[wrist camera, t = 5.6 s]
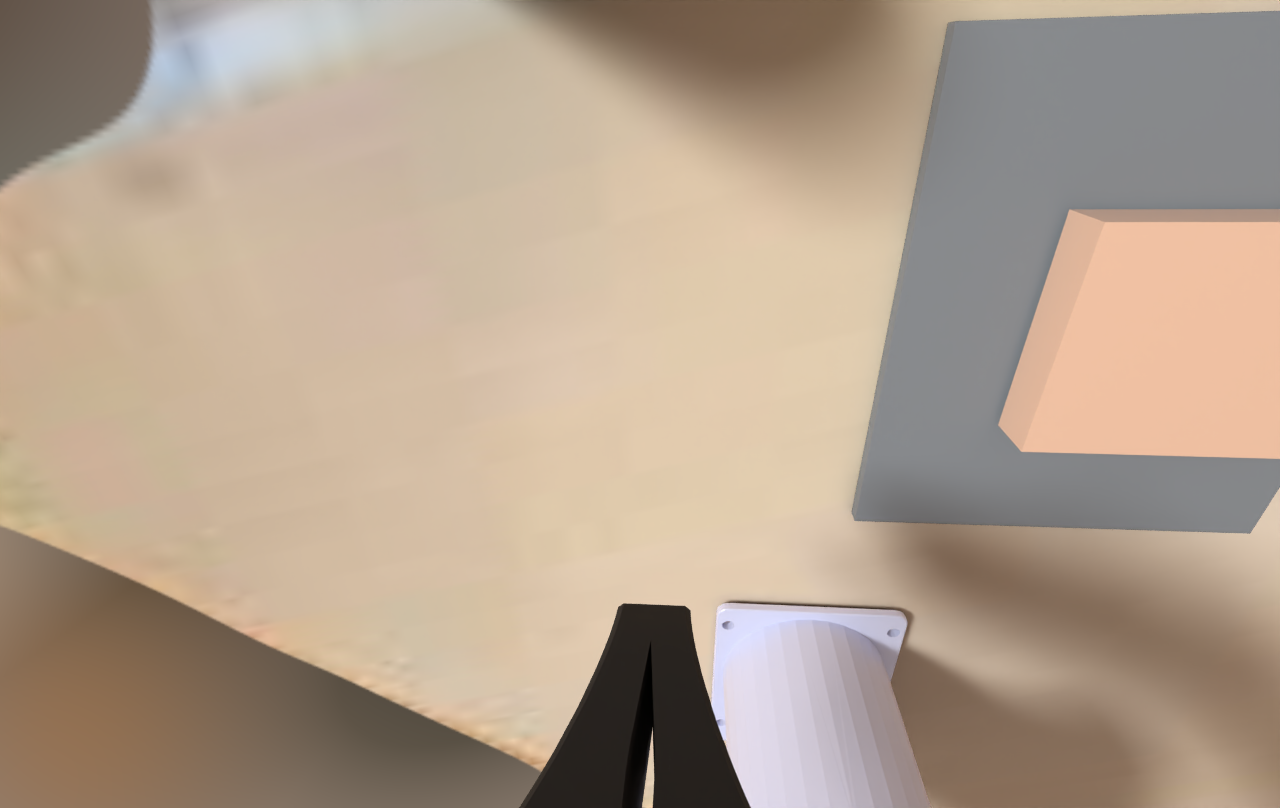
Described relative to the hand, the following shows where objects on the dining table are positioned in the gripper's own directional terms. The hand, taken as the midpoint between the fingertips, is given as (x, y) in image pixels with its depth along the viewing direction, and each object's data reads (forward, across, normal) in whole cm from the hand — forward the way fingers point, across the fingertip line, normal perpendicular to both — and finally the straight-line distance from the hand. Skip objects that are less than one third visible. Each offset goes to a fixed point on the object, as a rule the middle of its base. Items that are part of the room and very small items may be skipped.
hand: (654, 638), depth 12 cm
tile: (+9, -11, -3) cm, 15 cm away
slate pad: (+10, -14, -3) cm, 18 cm away
